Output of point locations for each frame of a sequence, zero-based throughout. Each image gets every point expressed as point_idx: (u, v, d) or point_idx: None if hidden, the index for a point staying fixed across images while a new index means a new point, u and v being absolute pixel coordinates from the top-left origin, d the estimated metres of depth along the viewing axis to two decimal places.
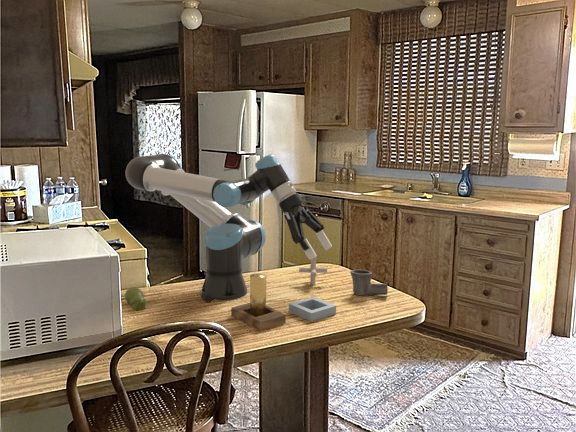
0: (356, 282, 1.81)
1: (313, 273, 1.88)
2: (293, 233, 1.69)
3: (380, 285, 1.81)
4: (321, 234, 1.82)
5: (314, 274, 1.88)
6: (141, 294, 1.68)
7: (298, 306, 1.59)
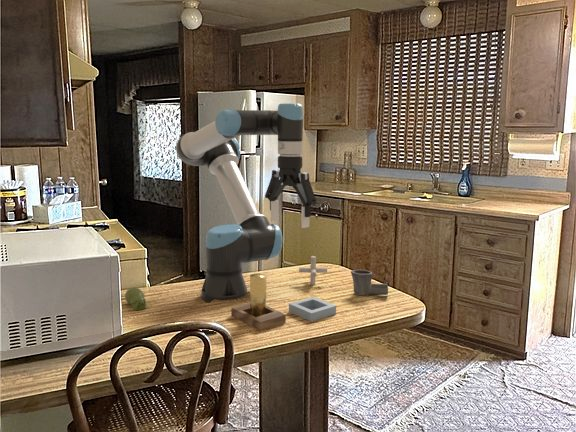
0: (357, 282, 1.81)
1: (313, 273, 1.88)
2: None
3: (381, 285, 1.81)
4: None
5: (314, 274, 1.88)
6: (141, 294, 1.68)
7: (298, 306, 1.59)
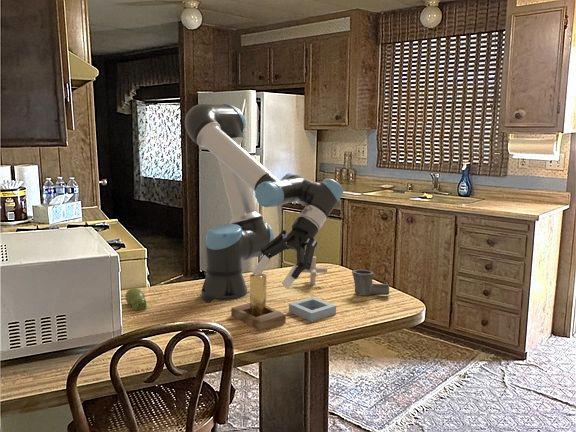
0: (358, 282, 1.81)
1: (313, 273, 1.88)
2: None
3: (382, 285, 1.80)
4: None
5: (314, 274, 1.88)
6: (142, 295, 1.68)
7: (298, 306, 1.59)
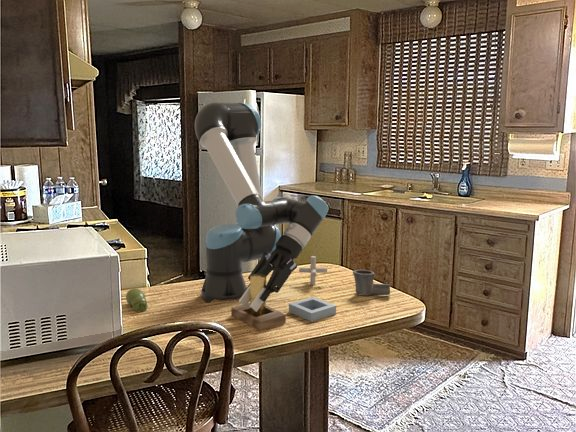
0: (359, 282, 1.81)
1: (313, 273, 1.88)
2: None
3: (383, 285, 1.80)
4: None
5: (314, 274, 1.88)
6: (142, 295, 1.67)
7: (298, 306, 1.59)
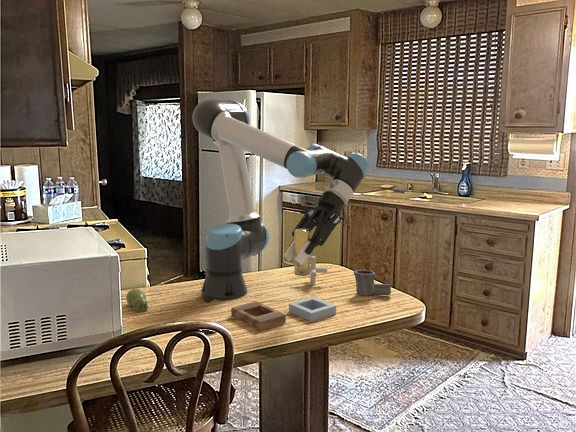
0: (359, 282, 1.81)
1: (313, 273, 1.88)
2: None
3: (383, 285, 1.80)
4: None
5: (314, 274, 1.88)
6: (143, 296, 1.67)
7: (298, 306, 1.59)
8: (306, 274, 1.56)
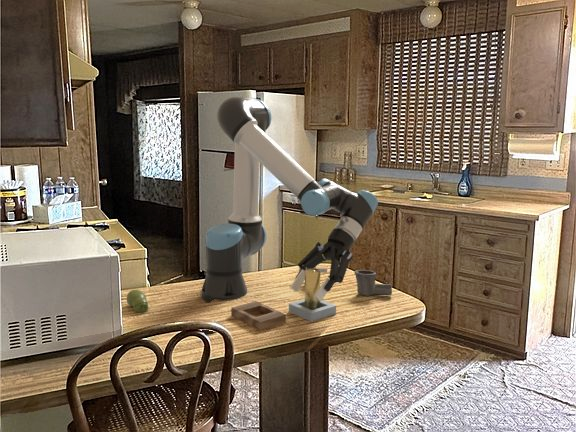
0: (360, 282, 1.81)
1: None
2: None
3: (384, 285, 1.80)
4: None
5: None
6: (143, 296, 1.66)
7: (298, 306, 1.59)
8: None
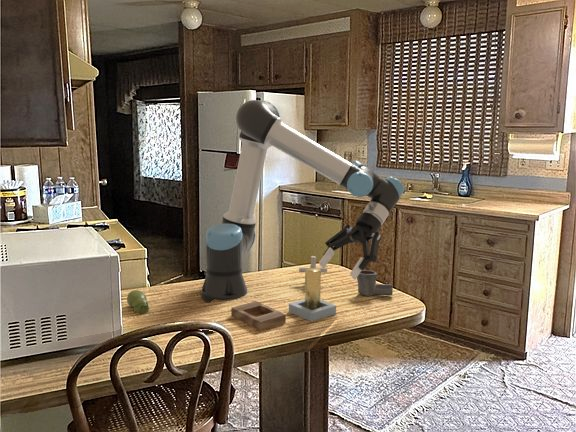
0: (361, 282, 1.80)
1: None
2: None
3: (385, 285, 1.80)
4: None
5: None
6: (144, 297, 1.66)
7: (298, 306, 1.59)
8: None
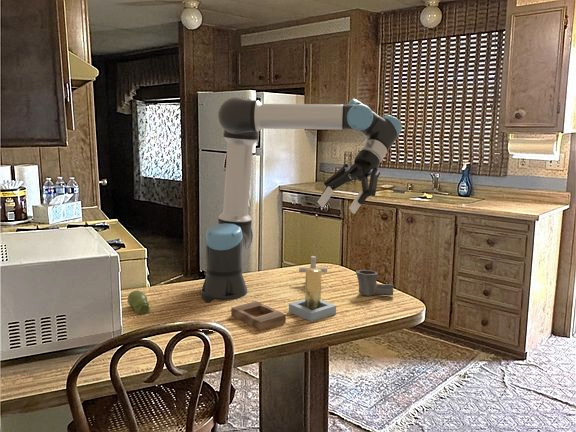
0: (362, 282, 1.80)
1: None
2: None
3: (386, 285, 1.80)
4: None
5: None
6: (144, 297, 1.65)
7: (298, 306, 1.59)
8: None
